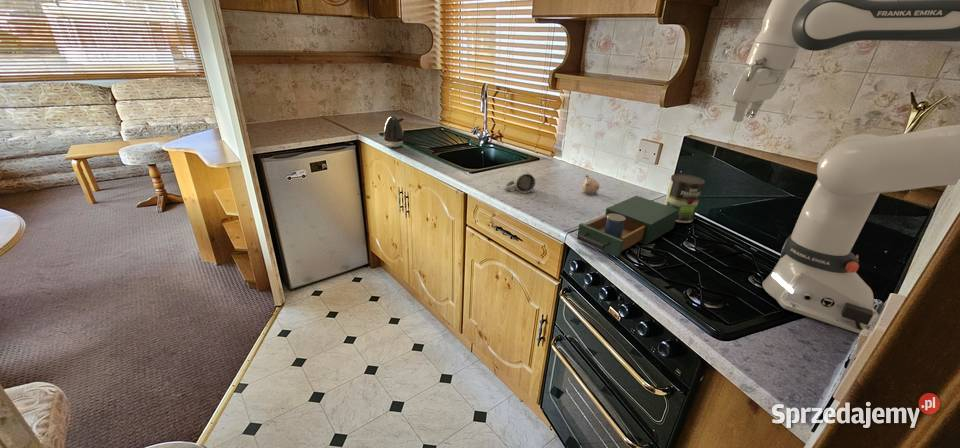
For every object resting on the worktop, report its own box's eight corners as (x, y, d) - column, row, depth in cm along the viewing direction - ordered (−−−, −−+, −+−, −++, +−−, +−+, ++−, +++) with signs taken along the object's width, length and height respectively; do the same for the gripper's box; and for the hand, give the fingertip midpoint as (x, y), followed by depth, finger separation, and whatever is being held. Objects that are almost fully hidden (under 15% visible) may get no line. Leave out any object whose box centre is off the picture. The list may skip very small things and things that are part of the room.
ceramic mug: (528, 185, 163) (530, 167, 159) (534, 192, 155) (536, 173, 152) (503, 186, 161) (504, 168, 158) (508, 193, 154) (509, 174, 150)
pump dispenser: (405, 148, 204) (404, 118, 198) (384, 149, 202) (382, 118, 196) (404, 143, 213) (402, 114, 207) (383, 143, 211) (382, 114, 205)
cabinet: (645, 245, 120) (650, 224, 117) (602, 227, 130) (606, 208, 127) (673, 228, 132) (678, 209, 129) (631, 213, 142) (636, 195, 139)
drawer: (608, 262, 108) (612, 246, 106) (567, 243, 117) (569, 228, 115) (648, 239, 122) (652, 224, 120) (608, 223, 131) (611, 209, 128)
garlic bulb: (579, 190, 161) (582, 170, 157) (595, 190, 161) (599, 171, 158) (583, 196, 155) (586, 176, 151) (599, 196, 155) (603, 177, 152)
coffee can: (699, 223, 136) (711, 184, 130) (669, 222, 136) (680, 183, 130) (684, 211, 146) (695, 174, 139) (656, 210, 145) (666, 173, 139)
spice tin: (624, 237, 120) (629, 217, 117) (615, 242, 116) (619, 222, 114) (609, 230, 123) (613, 212, 120) (599, 235, 120) (603, 216, 117)
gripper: (772, 61, 83) (743, 127, 90) (797, 61, 96) (769, 118, 102) (739, 56, 87) (714, 119, 94) (767, 56, 99) (743, 112, 106)
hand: (743, 119), depth 98 cm, fingers open, 8 cm apart
